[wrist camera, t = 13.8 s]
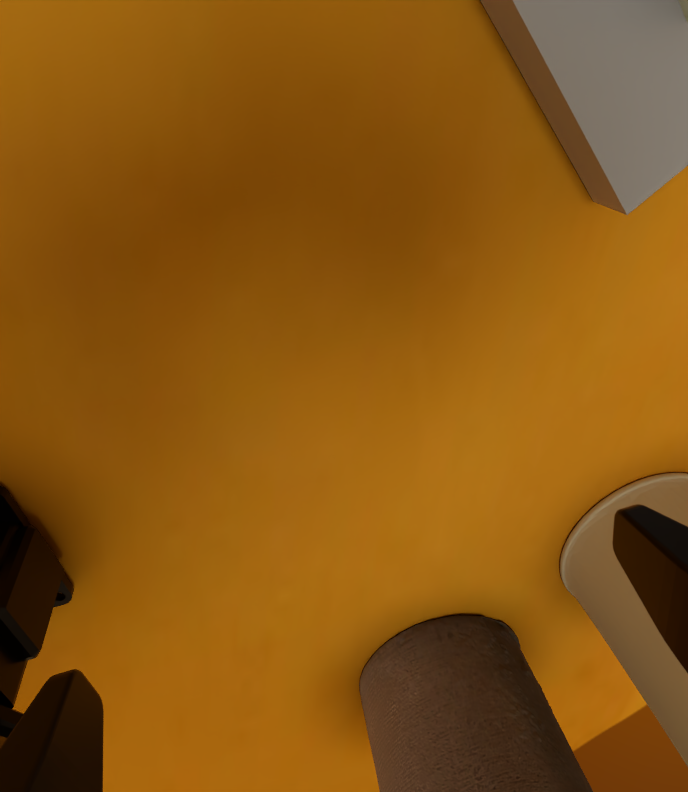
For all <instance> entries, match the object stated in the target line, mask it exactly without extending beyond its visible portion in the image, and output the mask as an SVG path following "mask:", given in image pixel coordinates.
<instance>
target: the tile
mask: <svg viewBox="0 0 688 792" xmlns="http://www.w3.org/2000/svg"><path fill="white" fill-rule="evenodd" d="M480 1H481V3H482V4H483V6H484V8H485V10H486V12H487V13H488V15H489V17H490V19H491V20H492V22H493V24H494V26H495V28H496V29H497V31H498V33H499V35H500V36H501V38H502V40H503V42H504V44H505V45H506V47H507V49H508V51H509V52H510V54H511V56H512V58H513V60H514V61H515V63H516V65H517V67H518V68H519V70H520V72H521V74H522V76H523V77H524V79H525V81H526V83H527V84H528V86H529V88H530V90H531V92H532V93H533V95H534V97H535V99H536V100H537V102H538V104H539V106H540V108H541V109H542V111H543V113H544V115H545V116H546V118H547V120H548V122H549V123H550V125H551V127H552V129H553V131H554V132H555V134H556V136H557V138H558V139H559V141H560V143H561V145H562V147H563V148H564V150H565V152H566V154H567V155H568V157H569V159H570V161H571V163H572V164H573V166H574V168H575V170H576V171H577V173H578V175H579V177H580V179H581V180H582V182H583V184H584V186H585V187H586V189H587V191H588V193H589V195H590V196H591V198H592V200H593V202H596V203H598V204H601V205H603V206H606V207H608V208H611V209H613V210H616V211H618V212H621V213H623V214H626V215H628V214H629V213H630V212H631V211H633V210H634V209H635V208H636V207H637V206H639V205H640V204H641V203H642V202H644V201H645V200H646V199H647V198H648V197H650V196H651V195H652V194H653V193H654V192H656V191H657V190H658V189H659V188H661V187H662V186H663V185H664V184H665V183H667V182H668V181H669V180H670V179H672V178H673V177H674V176H675V175H676V174H678V173H679V172H680V171H681V170H683V169H684V168H685V167H686V166H687V165H688V22H687V21H686V19H685V16H684V13H683V11H682V8H681V6H680V3H679V0H480Z"/></svg>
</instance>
